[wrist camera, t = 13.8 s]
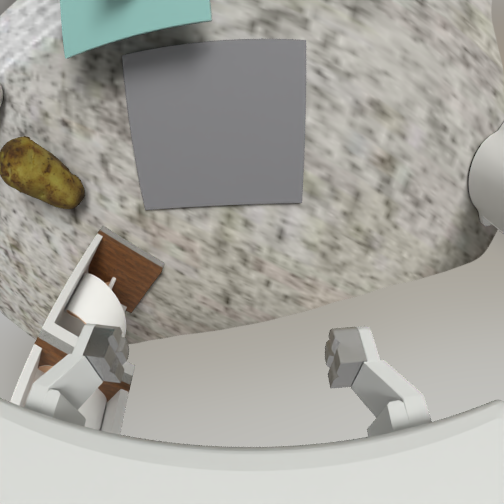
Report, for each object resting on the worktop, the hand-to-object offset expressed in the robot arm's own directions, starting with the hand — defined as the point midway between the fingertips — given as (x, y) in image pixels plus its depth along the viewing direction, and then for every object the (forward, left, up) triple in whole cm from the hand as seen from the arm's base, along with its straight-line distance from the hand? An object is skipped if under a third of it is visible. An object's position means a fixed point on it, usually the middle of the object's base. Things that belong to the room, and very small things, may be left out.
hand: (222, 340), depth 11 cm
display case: (+19, +18, -28) cm, 38 cm away
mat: (+2, -2, -27) cm, 28 cm away
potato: (+25, 0, -28) cm, 37 cm away
